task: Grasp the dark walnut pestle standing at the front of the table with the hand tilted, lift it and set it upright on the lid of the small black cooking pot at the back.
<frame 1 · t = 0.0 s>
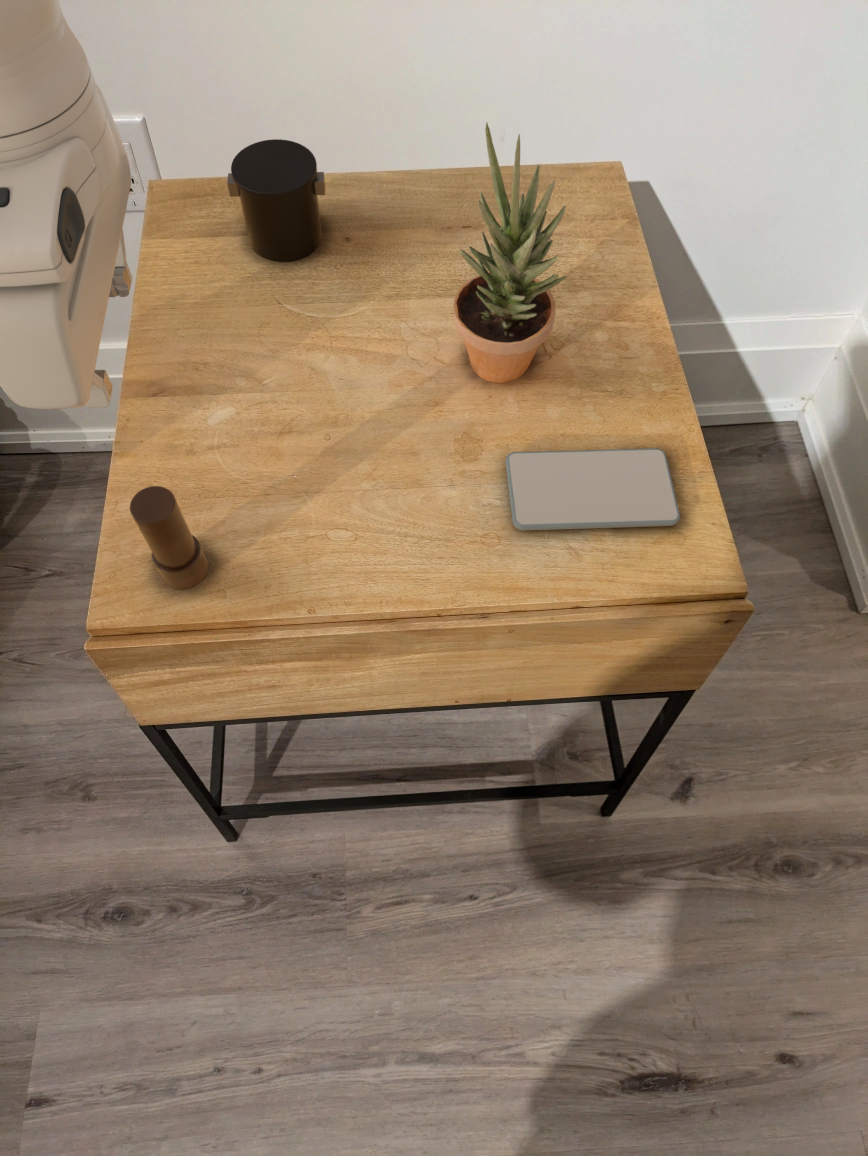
hand: (109, 342, 54), 23 cm above the table, tool pointing down, fingers open, 8 cm apart
walnut pestle: (184, 569, 73), on the table
black cooking pot: (285, 236, 93), on the table
potted plant: (498, 363, 85), on the table
smartphone: (589, 492, 77), on the table
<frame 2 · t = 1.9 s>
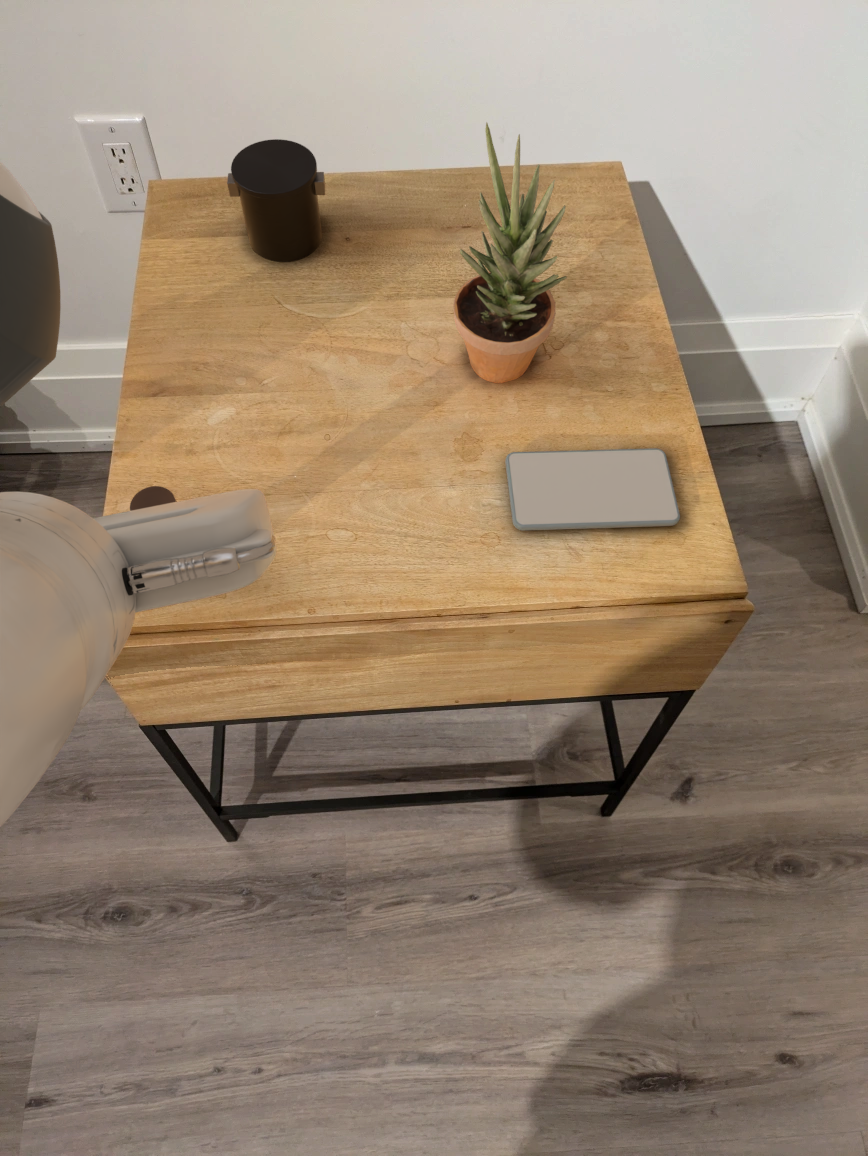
hand: (93, 539, 47), 23 cm above the table, tool tilted 45°, fingers open, 8 cm apart
nothing on the table moved.
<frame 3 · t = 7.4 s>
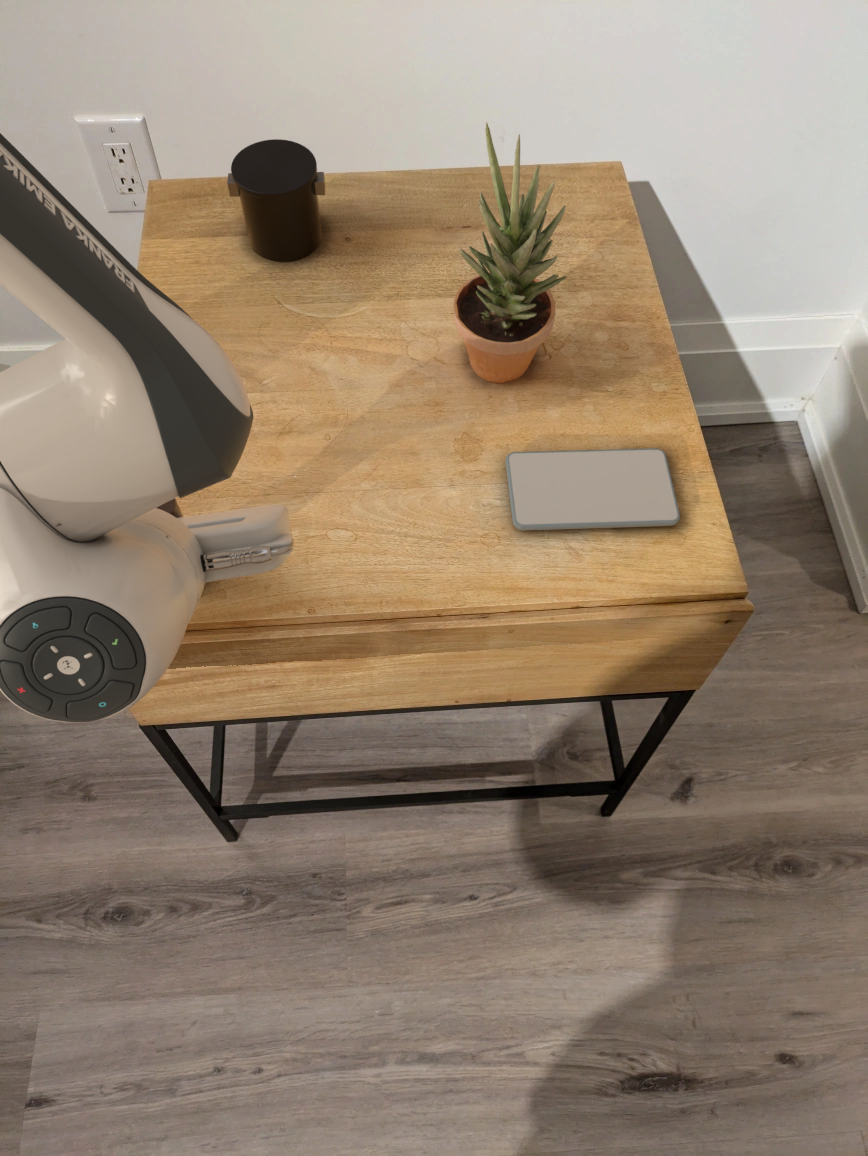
hand: (167, 529, 68), 5 cm above the table, tool tilted 45°, fingers closed on walnut pestle, 3 cm apart
walnut pestle: (184, 569, 73), on the table, touching gripper
everything else where it was.
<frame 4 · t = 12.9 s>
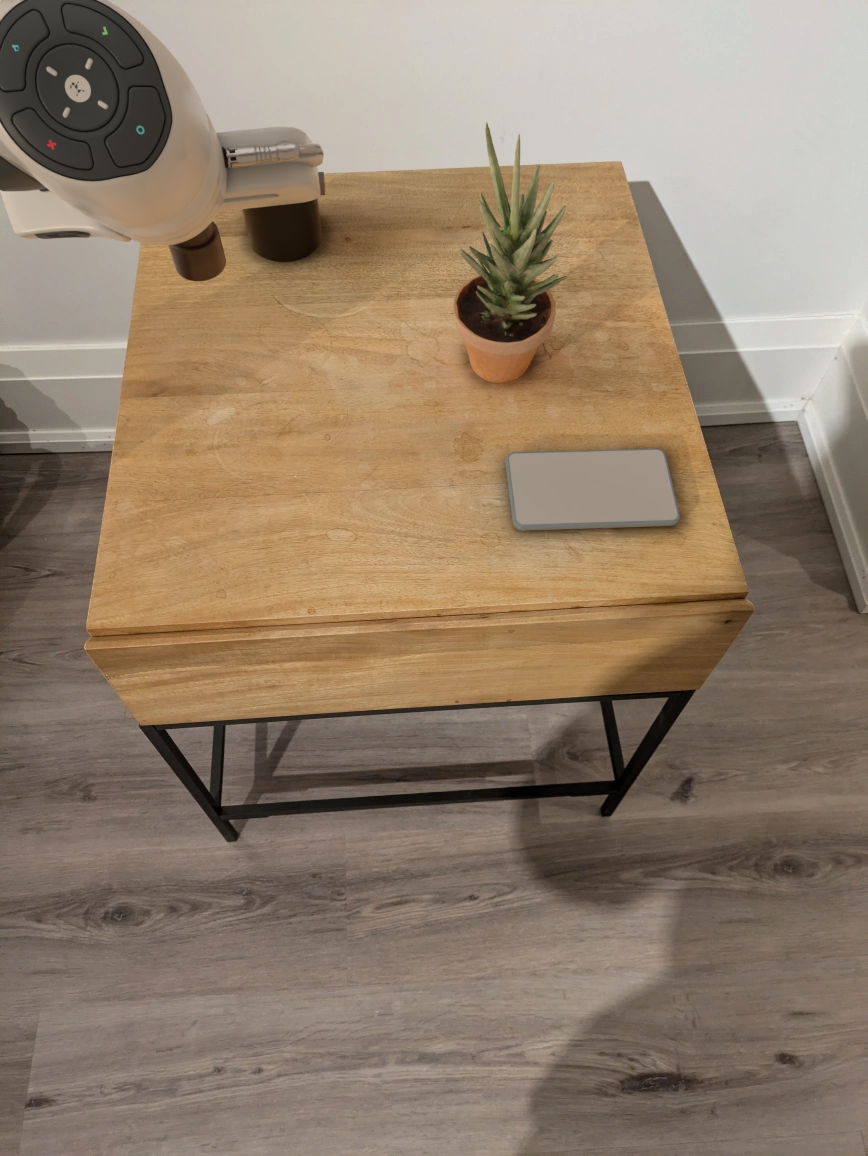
hand: (183, 200, 63), 22 cm above the table, tool tilted 45°, fingers closed on walnut pestle, 3 cm apart
walnut pestle: (201, 264, 68), point 16 cm above the table, touching gripper
everything else where it was.
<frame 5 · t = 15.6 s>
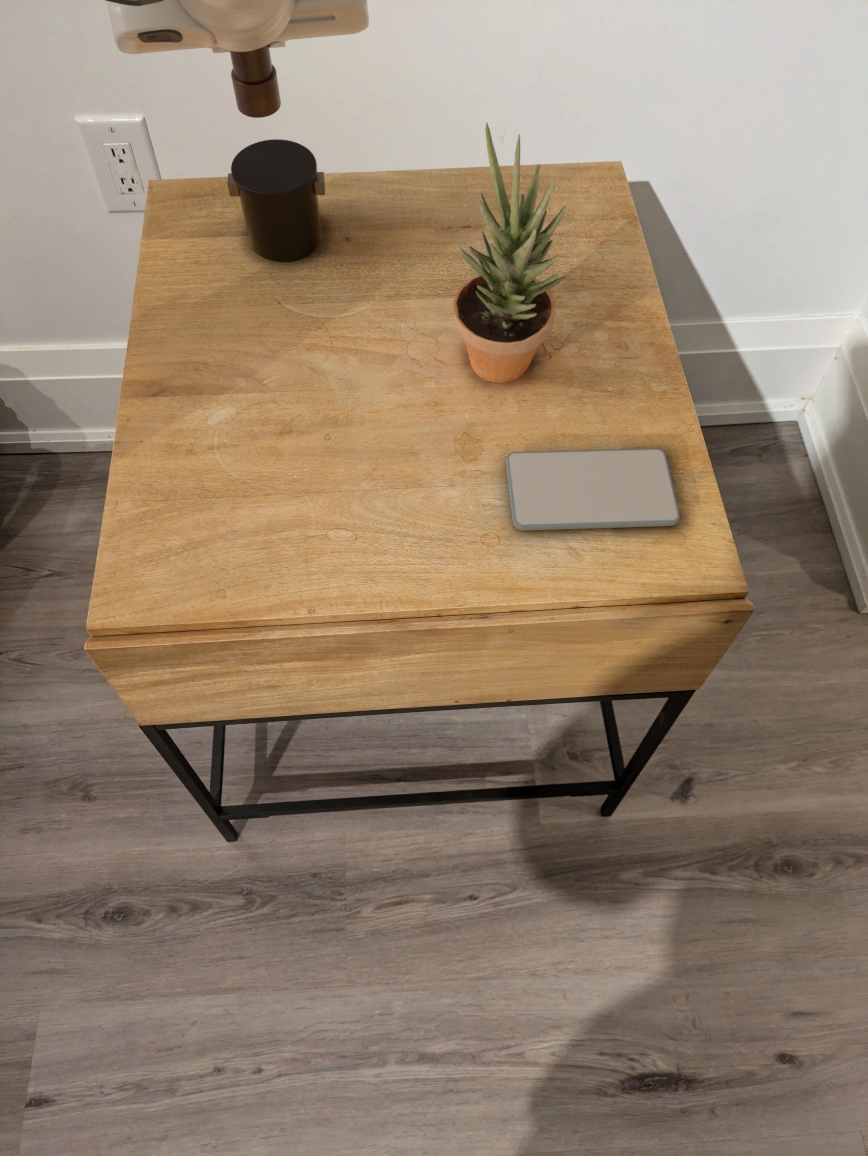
hand: (247, 39, 73), 22 cm above the table, tool tilted 45°, fingers closed on walnut pestle, 3 cm apart
walnut pestle: (259, 104, 78), point 16 cm above the table, touching gripper
everything else where it was.
when the fingers open (14 cm above the table, at t = 18.2 s): walnut pestle stays where it is, resting on black cooking pot.
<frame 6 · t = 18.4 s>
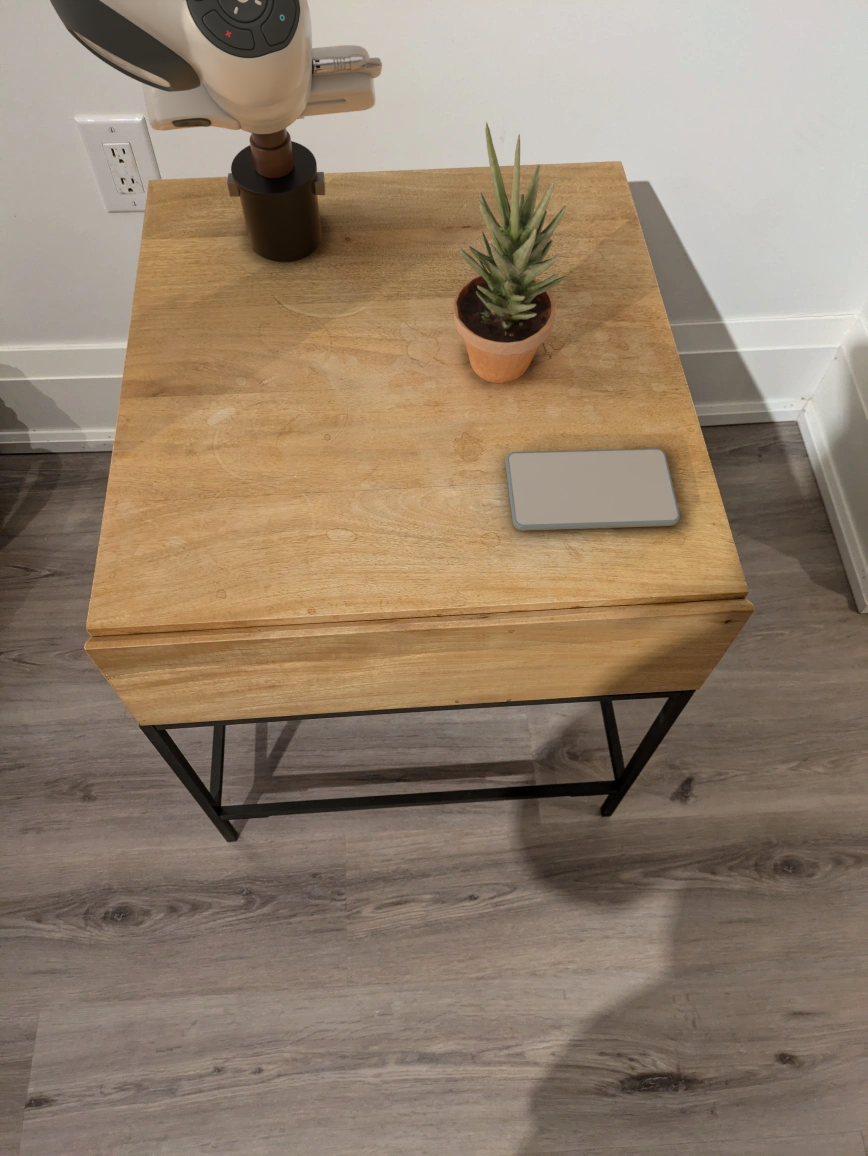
hand: (265, 113, 81), 14 cm above the table, tool tilted 45°, fingers open, 4 cm apart
walnut pestle: (274, 165, 85), point 9 cm above the table, touching black cooking pot
everything else where it was.
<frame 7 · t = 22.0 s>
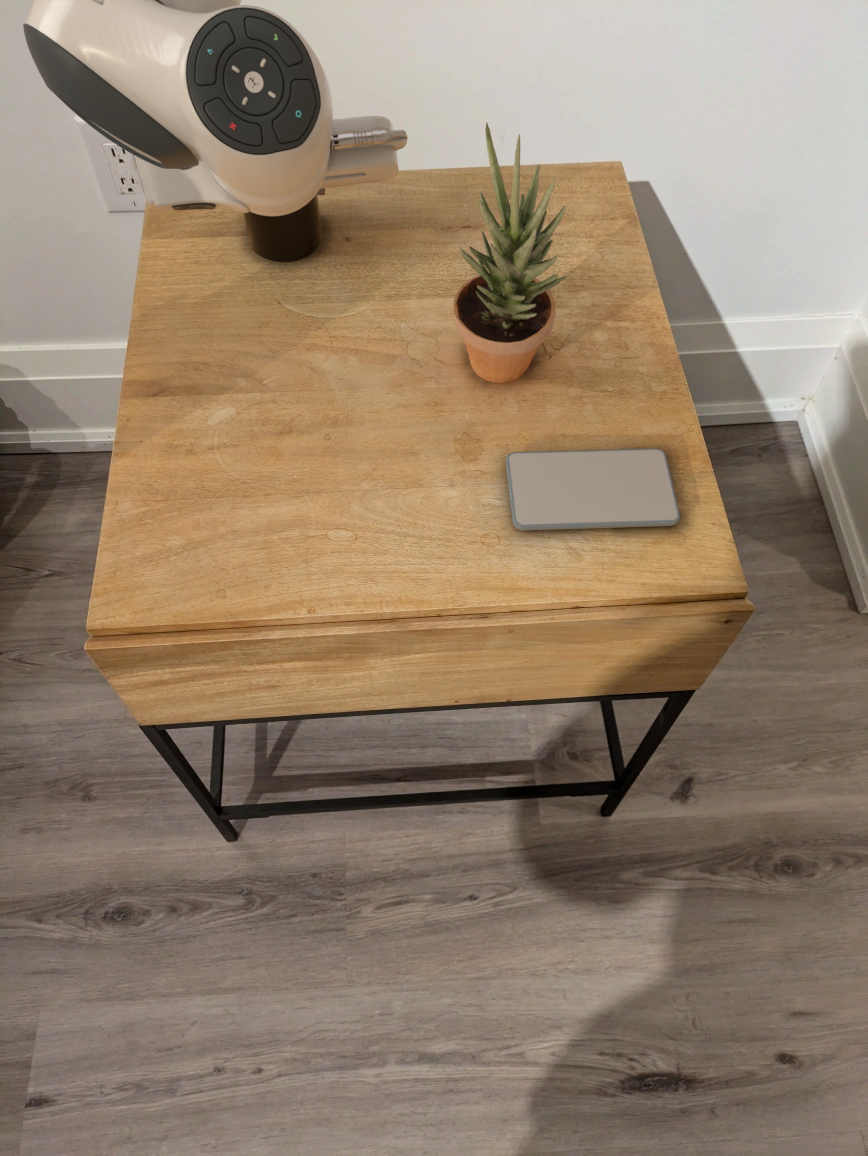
hand: (274, 181, 73), 16 cm above the table, tool tilted 45°, fingers open, 8 cm apart
nothing on the table moved.
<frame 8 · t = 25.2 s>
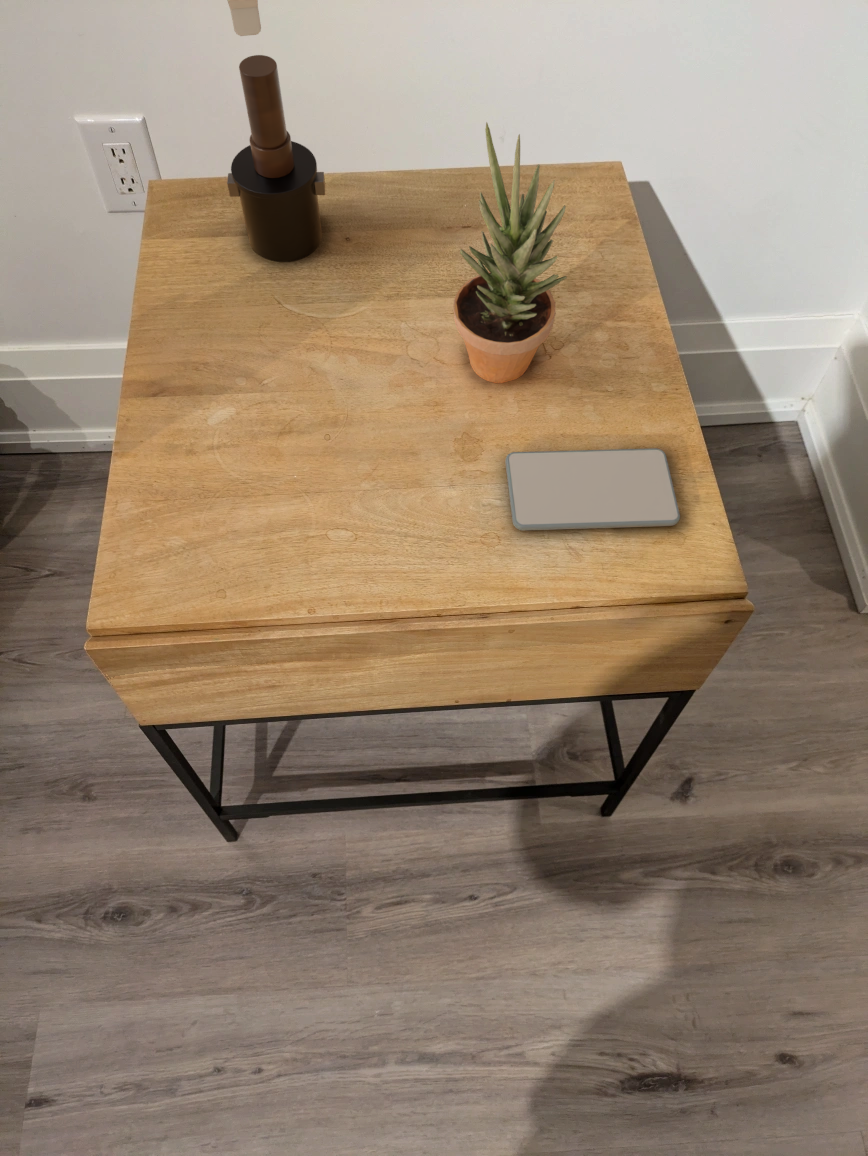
nothing on the table moved.
at the end: walnut pestle 0.1 cm off-centre on the black cooking pot, point 8.6 cm above the black cooking pot's base; walnut pestle tilted 0°; the gripper is holding nothing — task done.
